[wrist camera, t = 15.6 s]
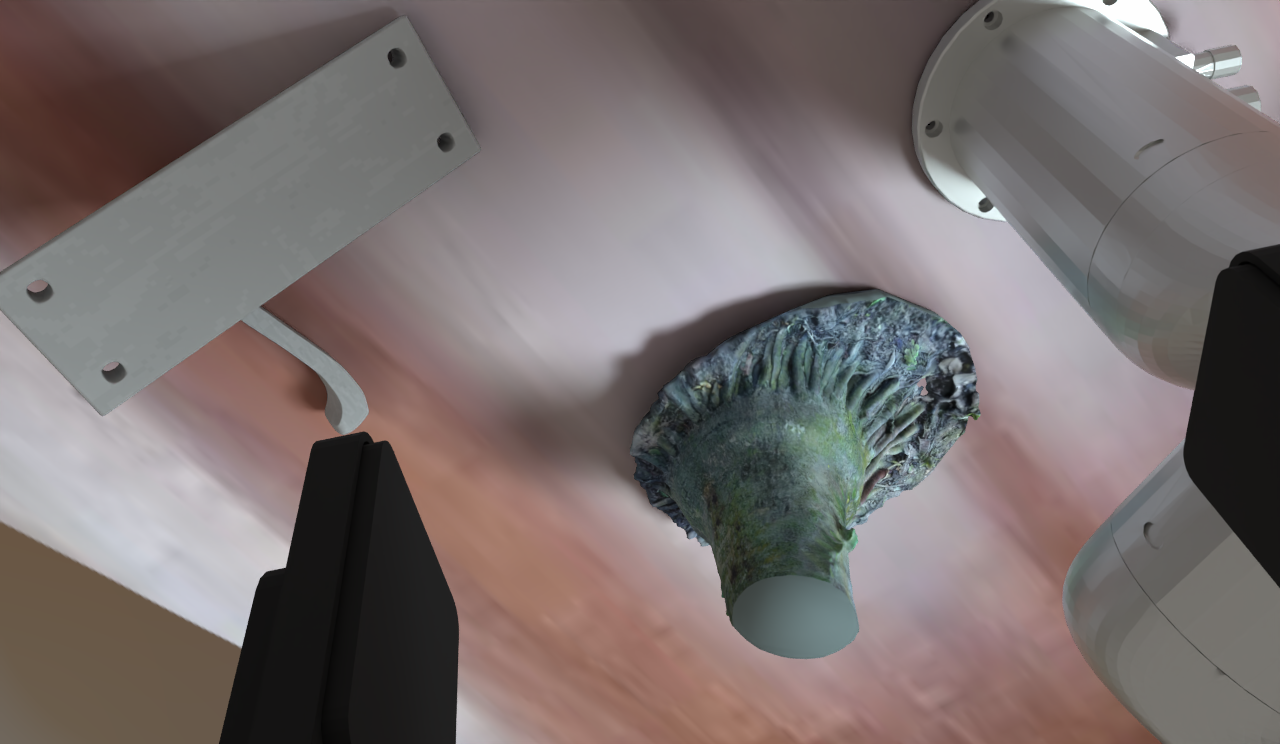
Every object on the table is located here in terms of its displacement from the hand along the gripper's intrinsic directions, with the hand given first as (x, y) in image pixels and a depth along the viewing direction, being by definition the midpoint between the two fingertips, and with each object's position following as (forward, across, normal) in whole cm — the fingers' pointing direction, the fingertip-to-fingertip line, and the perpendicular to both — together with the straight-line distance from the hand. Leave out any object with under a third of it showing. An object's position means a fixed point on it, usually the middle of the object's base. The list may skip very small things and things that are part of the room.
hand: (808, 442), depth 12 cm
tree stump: (+39, -7, +33) cm, 51 cm away
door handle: (+39, +15, +15) cm, 44 cm away
